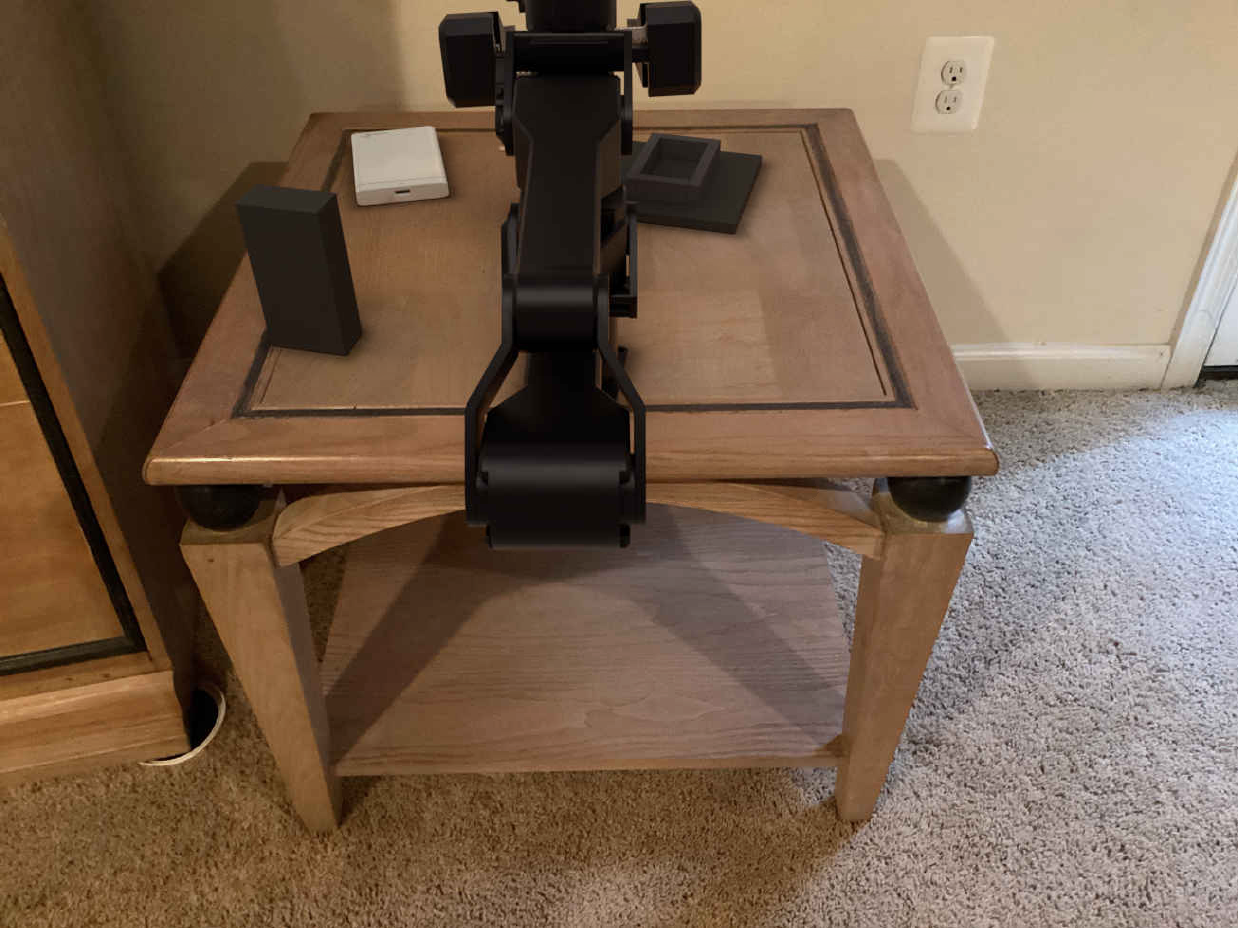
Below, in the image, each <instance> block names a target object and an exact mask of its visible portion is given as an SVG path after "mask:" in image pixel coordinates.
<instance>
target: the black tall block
mask: <svg viewBox="0 0 1238 928" xmlns="http://www.w3.org/2000/svg"><path fill="white" fill-rule="evenodd" d="M234 204H235V209H236V212H237V216H238V220H239V225H240V228H241V232H242V237H243V240H244V245H245V246H246V252H247V256H248V259H249V263H250V267H251V271H252V275H253V278H254V279H253V280H254V283H255V286H256V290H257V295H258V298H259V302H260V305H261V309H262V313H263V318H264V322H265V325H266V329H267V333H268V336H269V341H270V344H271V346H275V347H281V348H288V349H294V350H295V349H296V350H304V351H311V352H317V353H323V354H324V353H325V354H331V355H338V356H344V357H345V356H346V357H347V356H348V354H349V353H350V351H352V349H353V347H354V346H355V345H356V343H357V342H358V341H359V339H360V338H361V337H362V336H363V327H362V322H361V318H360V311H359V306H358V302H357V295H356V292H355V291H356V290H355V286H354V280H353V276H352V270H351V265H350V259H349V254H348V253H349V252H348V248H347V243H346V237H345V234H344V232H345V231H344V227H343V223H342V217H341V212H340V205H339V200H338V196H337V192H330V191H322V190H313V189H306V188H305V189H304V188H297V187H296V188H295V187H287V186H278V185H270V184H260V183H256V184H254V186H253V187H251V188H250V189H249V190H248V191H247V192H246V193H245V194H243V195H242V196H241V197H240V198H239V199H238V200H237V201H236V202H235V203H234Z"/></svg>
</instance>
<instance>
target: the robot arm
mask: <svg viewBox="0 0 1238 928" xmlns="http://www.w3.org/2000/svg"><path fill="white" fill-rule="evenodd" d="M505 1H506V2H507V3H509V2H510V3H511V2H515V3H517V4H518V5H517V6H518V13H519V14H524V15H525V29H526V30H516V25H514V24H511V25H504V24H503V21H502V19H501V15H500V13H499V11H497V10H496V11H495V10H493V11H476V12H459V13H458V12H457V13H446V15H445V16H444V17H443V18H442V19H441V21H440V23H439V25H438V27H437V31H438V32H437V34H438V44H439V52H440V53H439V54H440V61H441V66H442V67H441V68H442V75H443V82H444V90H445V95H446V99H447V101H448V102H449V103H450V104H451V105H452V106H453V107H454V108H455V109H466V108H467V109H469V108H485V107H494V132H495V137H496V138H497V139H498V140H499V141H500V142H501V143H502V146H504V152H505V156H506V157H514V166H515V178H516V187H517V188H518V189H519V190H520V191H519V198H518V200H519V201H511V202H510V204H509V212H507V218H506V219H505V220H504V221H503V222H502V223H501V224H500V272H501V273H500V274H501V275H500V276H501V278H500V279H501V341H500V345H499V346H498V348H497V350H496V352H495V353H494V354H493V357H492V359H491V360H490V362H489V364H488V365H487V366H486V369H485V371H484V372H483V374H482V376H481V378H480V379H479V381H478V383H477V385H476V386H475V388H474V390H473V392H472V393H471V395H470V397H469V398H468V400H467V402H466V404H465V408H464V508H465V518H466V523H467V527H469V528H485V546H487V548H488V549H489V550H494V551H581V550H582V551H610V550H611V551H620V550H622V549H623V550H624V549H625V550H626V549H627V548H628V547H630V545H631V528H646V524H647V523H646V522H647V521H646V520H647V410H646V408H645V407H646V406H645V402H644V401H643V399H642V398H641V396H640V394H639V392H638V390H637V389H636V387H635V385H634V384H633V382H632V380H631V379H630V377H629V375H628V373H627V372H626V365H627V361H628V356H629V348H628V347H626V346H622V345H618V343H619V341H618V340H619V339H618V338H619V337H618V336H619V335H618V333H619V332H618V327H619V326H618V325H619V324H618V319H619V318H629V320H630V319H631V320H632V319H633V320H635V319H636V320H637V319H638V221H637V202H626V187H625V186H624V185H623V181H621V156H632V155H633V141H634V95H633V94H634V85H633V82H634V81H633V78H634V77H633V74H634V73H633V72H634V71H633V64H634V65H635V68H636V71H637V74H638V79H639V82H640V83H641V87H642V88H643V89H647V96H648V98H658V97H659V98H660V97H676V96H677V97H678V96H694V95H695V94H696V93H697V92H698V90H699V89H700V87H701V86H702V82H703V81H702V80H703V77H702V75H703V46H702V45H703V43H702V42H703V37H702V36H703V25H702V24H703V23H702V13H701V10H700V8H699V7H698V6H697V5H696V4H695V3H694V2H693V1H692V0H672V1H655V2H654V1H653V2H641V3H639V7H638V10H637V11H638V12H637V18H627V19H626V26H623V27H621V26H620V27H617V26H618V24H617V23H618V9H617V8H618V6H617V5H618V3H617V2H618V0H505ZM615 73H623V94H622V87H621V86H622V84H621V83H622V78H621V77H619V75H618V74H615ZM627 257H628V275H627ZM519 354H526V361H525V370H524V379H523V386H522V388H520V389H519V390H518V391H516V392H514V393H513V394H512V395H510V396H509V397H507V398H506V399H504V400H503V401H501V402H500V403H498V404H497V405H495V406H494V407H492V408H491V409H490V410H489V408H490V406H491V405H492V403H493V402H494V400H495V398H496V396H497V394H498V393H499V391H500V390H501V388H502V386H503V384H504V383H505V381H506V379H507V377H508V376H509V374H510V372H511V370H512V368H513V367H514V365H515V363H516V362H517V360H518V358H519ZM620 393H621V395H622V396H623V399H624V400H625V401H626V403H627V406H628V407H629V408H630V410H631V412H632V414H633V452H632V449H631V448H632V447H631V413H630V411H629V409H627V408H626V407H624V405H622V403H619V397H620ZM488 410H489V411H488Z"/></svg>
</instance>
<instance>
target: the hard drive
mask: <svg viewBox="0 0 1238 928" xmlns="http://www.w3.org/2000/svg"><path fill="white" fill-rule="evenodd" d="M350 138H351V139H350V140H351V152H352V163H353V174H354V175H353V176H354V177H353V178H354V187H355V195H356V202H357V205H359V206H374V205H385V204H394V203H395V204H396V203H403V202H413V201H414V202H415V201H422V200H424V201H425V200H433V199H434V200H435V199H443V198H446V197H448V196H449V195H450V192H449V183H448V179H447V175H446V171H445V165H444V162H443V156H442V152H441V147H440V144H439V139H438V134H437V130H436V128H435V127H434V126H430V125H428V126H427V125H426V126H416V127H406V128H396V129H386V130H377V131H364V132H356V133H353V134H351V136H350Z"/></svg>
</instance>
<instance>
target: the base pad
mask: <svg viewBox="0 0 1238 928" xmlns="http://www.w3.org/2000/svg"><path fill="white" fill-rule="evenodd" d="M721 148H722V140H721V139H717V138H708V137H699V136H689V135H681V134H673V133H672V134H671V133H664V132H663V133H661V132H654V131H653V132H651V134H650V136H649V137H648V139H647V141H638V140H633V155H632V156H621V181H623V185H624V186H625V187H626V202H637V222H639V223H648V224H655V225H661V226H662V225H663V226H670V227H678V228H685V229H693V230H701V231H709V232H715V233H725V234H733V235H734V234H736V232H737V229H738V226H739V224H740V221H741V219H742V216H743V214H744V211H745V209H746V206H747V203H748V201H749V198H750V196H751V193H752V190H753V188H754V185H755V183H756V181H757V177H758V175H759V173H760V170H761V167H762V164H763V154H752V153H744V152H736V151H727V150H721Z"/></svg>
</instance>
